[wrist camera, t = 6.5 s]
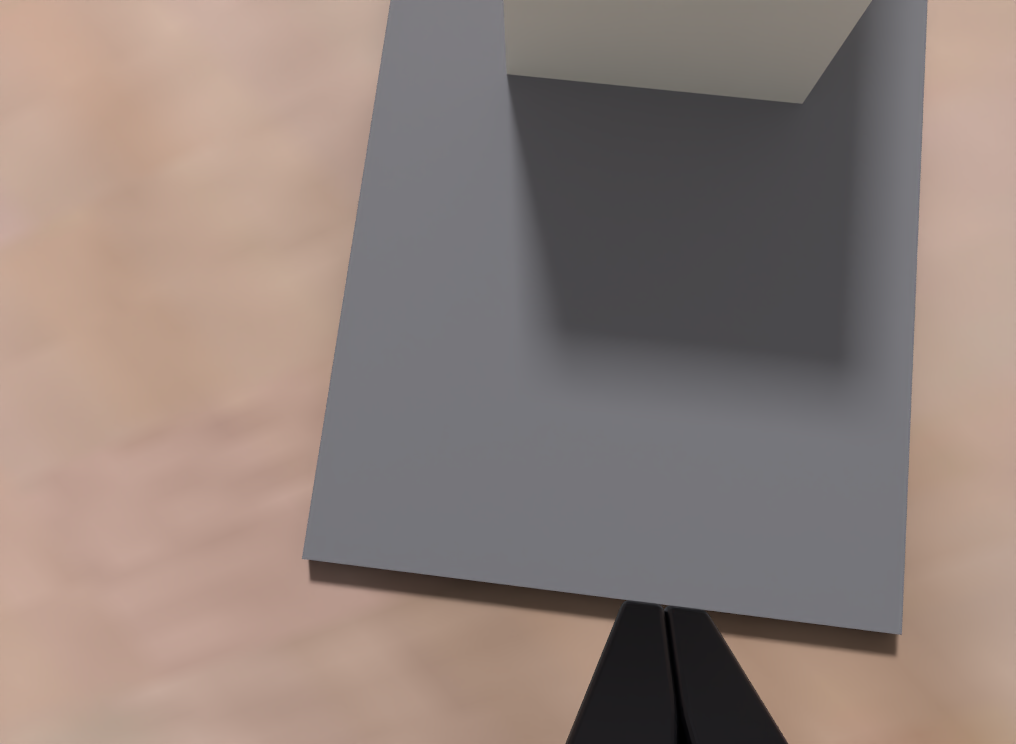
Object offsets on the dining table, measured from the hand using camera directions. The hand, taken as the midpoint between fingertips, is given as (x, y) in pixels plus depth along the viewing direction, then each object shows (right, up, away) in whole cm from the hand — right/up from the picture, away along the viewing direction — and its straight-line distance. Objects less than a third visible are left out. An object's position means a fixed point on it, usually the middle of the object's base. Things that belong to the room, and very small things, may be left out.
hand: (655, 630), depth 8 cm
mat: (+1, +8, +9) cm, 12 cm away
